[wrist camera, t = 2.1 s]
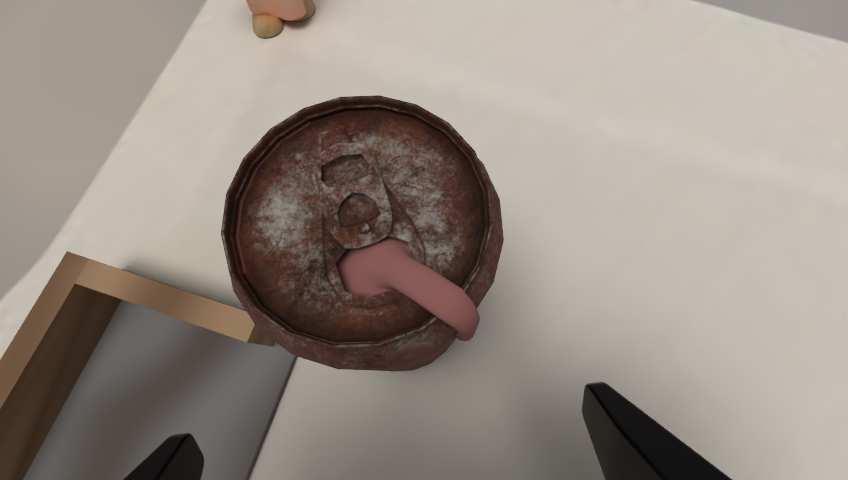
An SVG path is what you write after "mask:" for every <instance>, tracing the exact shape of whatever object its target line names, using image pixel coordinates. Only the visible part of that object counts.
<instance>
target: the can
mask: <svg viewBox="0 0 848 480" xmlns="http://www.w3.org/2000/svg"><path fill="white" fill-rule="evenodd" d="M221 236H222V240H223V245H224V250H225V254H226V259H227V264H228V269H229V273H230V277H231V281H232V286H233V291H234V292H235V294H236V295H237V297H238V299H239V300H240V302H241V303H242V305H243V307H244V308H245V310H246V311H247V313H248V314H249V316H250V318H251V319H252V321H253V322H254V324H255V326H256V327H257V328H258V329H259V330H261V331H262V332H263V333H265V334H266V335H267V336H269V337H270V338H271V339H273V340H274V341H275V342H276V343H278V344H279V345H280V346H282V347H283V348H284V349H286V350H287V351H288V352H290V353H291V354H292V355H295V356H298V357H301V358H304V359H308V360H311V361H314V362H317V363H320V364H324V365H327V366H330V367H333V368H336V369H353V370H379V371H408V370H414V369H417V368H420V367H422V366H425V365H428V364H430V363H432V362H433V361H434V360H435V359H437V358H438V357H439V356H440V355H442V354H443V353H444V352H445V351H446V350H447V349H448V348H449V346H450V345H451V344H452V342H453V341H454V340H455V338H456V337H457V338H458V339H459V340H461V341H468V340H470V339H471V338H472V337H473V335H474V333H475V330H476V328H477V325H478V323H479V314H478V312H477V307H478V306H479V304H480V302H481V301H482V299H483V298H484V296H485V295H486V293H487V291H488V290H489V288H490V287H491V285H492V284H493V282H494V278H495V274H496V270H497V265H498V261H499V257H500V253H501V249H502V245H503V241H504V240H503V229H502V219H501V209H500V199H499V197H498V195H497V193H496V191H495V188H494V186H493V184H492V182H491V180H490V177H489V175H488V173H487V171H486V169H485V167H484V164H483V163H482V162H481V161H480V160H479V159H478V158H477V155H476V153H475V151H474V150H473V149H472V147H471V146H470V145H469V144H468V143H467V142H466V141H465V140H464V139H463V138H462V137H461V136H460V135H459V133H458V132H457V131H456V130H455V129H454V128H453V127H452V126H451V125H450V124H449V123H448V122H446V121H444V120H443V119H441V118H439V117H437V116H436V115H434V114H432V113H430V112H429V111H427V110H425V109H423V108H422V107H420V106H418V105H416V104H412V103H408V102H404V101H400V100H395V99H391V98H387V97H383V96H354V97H339V98H336V99H332V100H329V101H326V102H323V103H319V104H316V105H313V106H309V107H306V108H303V109H302V110H300V111H298V112H297V113H295V114H294V115H292V116H290V117H289V118H287V119H286V120H284V121H282V122H281V123H279V124H278V125H276V126H274V127H273V128H271V129H270V130H269V131H268V132H267V133H266V134H265V135H264V136H263V137H262V139H261V140H260V141H259V142H258V143H257V144H256V145H255V146H254V147H253V148H252V149H251V151H250V152H249V153H248V154H247V155H246V156H245V157H244V158H243V160H242V162H241V164H240V166H239V169H238V171H237V173H236V175H235V177H234V179H233V181H232V183H231V185H230V187H229V189H228V191H227V194H226V200H225V207H224V215H223V222H222V230H221Z"/></svg>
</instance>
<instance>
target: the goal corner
mask: <svg viewBox="0 0 848 480" xmlns="http://www.w3.org/2000/svg"><path fill="white" fill-rule="evenodd" d="M296 357H297V356H295V355H292V354H291V353H290V352H288V351H287V350H286V349H284V348H283V347H282V346H280V345H279V344H278V343H276V342H275V341H274V340H273V339H271V338H270V337H269V336H267V335H266V334H265V333H263V332H262V331H261V330H259V329H258V328H257V327H256V326H255V324H254V322H253V321H252V319H251V318H250V316H249V314H248V313H247V311H244V310H241V309H238V308H235V307H232V306H229V305H226V304H223V303H220V302H217V301H214V300H211V299H208V298H205V297H202V296H199V295H196V294H193V293H190V292H187V291H184V290H181V289H178V288H175V287H172V286H169V285H166V284H163V283H160V282H157V281H154V280H151V279H148V278H145V277H142V276H139V275H136V274H133V273H130V272H127V271H124V270H121V269H118V268H115V267H112V266H109V265H106V264H103V263H100V262H97V261H94V260H91V259H88V258H85V257H82V256H79V255H76V254H73V253H70V252H66V254H65V255H64V257H63V259H62V260H61V262H60V264H59V265H58V267H57V269H56V270H55V272H54V273H53V275H52V277H51V278H50V280H49V282H48V283H47V285H46V286H45V288H44V290H43V291H42V293H41V295H40V296H39V298H38V300H37V301H36V303H35V304H34V306H33V308H32V309H31V311H30V313H29V314H28V316H27V317H26V319H25V321H24V322H23V324H22V326H21V327H20V329H19V330H18V332H17V334H16V335H15V337H14V339H13V340H12V342H11V344H10V345H9V347H8V348H7V350H6V352H5V353H4V355H3V357H2V358H1V360H0V480H123V479H124V478H125V477H126V476H127V475H128V474H130V473H131V472H132V471H133V470H134V469H135V468H136V467H137V466H138V465H139V464H140V463H141V462H142V461H143V460H145V459H146V458H147V457H148V456H149V455H150V454H151V453H152V452H153V451H154V450H155V449H156V448H157V447H158V446H160V445H161V444H162V443H163V442H164V441H165V440H166V439H167V438H168V437H170V436H172V435H176V434H184V433H190V434H192V435H193V436H194V438H195V440H196V442H197V444H198V446H199V448H200V450H201V451H202V453H203V456H204V468H203V472H202V476H201V480H248V478H249V475H250V473H251V470H252V468H253V465H254V463H255V460H256V458H257V455H258V453H259V450H260V448H261V445H262V443H263V440H264V438H265V435H266V433H267V430H268V428H269V425H270V423H271V420H272V418H273V415H274V413H275V410H276V408H277V405H278V403H279V400H280V398H281V395H282V393H283V390H284V388H285V385H286V382H287V380H288V377H289V375H290V372H291V370H292V367H293V365H294V362H295V360H296Z"/></svg>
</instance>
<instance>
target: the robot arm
mask: <svg viewBox="0 0 848 480" xmlns="http://www.w3.org/2000/svg"><path fill="white" fill-rule="evenodd" d="M582 413H583V418H584V421H585V424H586V427H587V429H588V432H589V435H590V438H591V440H592V443H593V446H594V449H595V452H596V454H597V457H598V460H599V463H600V466H601V468H602V471H603V474H604V477H605V479H606V480H732V479H731V478H729V477H728V476H727V475H725V474H724V473H723V472H721V471H720V470H719V469H717V468H716V467H715V466H714V465H712V464H711V463H710V462H708V461H707V460H706V459H704V458H703V457H702V456H700V455H699V454H698V453H696V452H695V451H694V450H693V449H691V448H690V447H689V446H687V445H686V444H685V443H683V442H682V441H681V440H679V439H678V438H677V437H676V436H674V435H673V434H672V433H670V432H669V431H668V430H666V429H665V428H664V427H662V426H661V425H660V424H659V423H657V422H656V421H655V420H653V419H652V418H651V417H649V416H648V415H647V414H645V413H644V412H643V411H642V410H640V409H639V408H638V407H636V406H635V405H634V404H632V403H631V402H630V401H628V400H627V399H626V398H625V397H623V396H622V395H621V394H619V393H618V392H617V391H615V390H614V389H613V388H611V387H610V386H609V385H607V384H606V383H603V382H597V383H589V384H587V385H586V386H585V389H584V397H583V405H582ZM203 468H204V456H203V453H202V451H201V450H200V448H199V446H198V444H197V442H196V440H195V438H194V436H193V435H192V434H190V433H184V434H176V435H172V436H170V437H168V438H167V439H166V440H165V441H164V442H163V443H162V444H161V445H160V446H158V447H157V448H156V449H155V450H154V451H153V452H152V453H151V454H150V455H149V456H148V457H147V458H146V459H145V460H143V461H142V462H141V463H140V464H139V465H138V466H137V467H136V468H135V469H134V470H133V471H132V472H131V473H130V474H128V475H127V476H126V477H125V478H124V479H123V480H201V476H202V472H203Z"/></svg>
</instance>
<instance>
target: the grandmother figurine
mask: <svg viewBox="0 0 848 480" xmlns="http://www.w3.org/2000/svg"><path fill="white" fill-rule="evenodd" d="M246 1H247V3H248V6H249V8H250V10H251V12H252V13H253V14H252V17H253V30H254V33H255V34H256V35H257V36H258V37H261V38H269V37H273V36H275V35H277V34H278V33H279V32H280V31H281V30H282V26H283V23H282V21H281V19H280V18H282V19H284V20H287V21H292V20H294V21H303V20H305V19H307V18H309V17H311V16H312V15H313V14H314V12H315V5H314V3H313V2H312V1H311V0H246Z"/></svg>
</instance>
